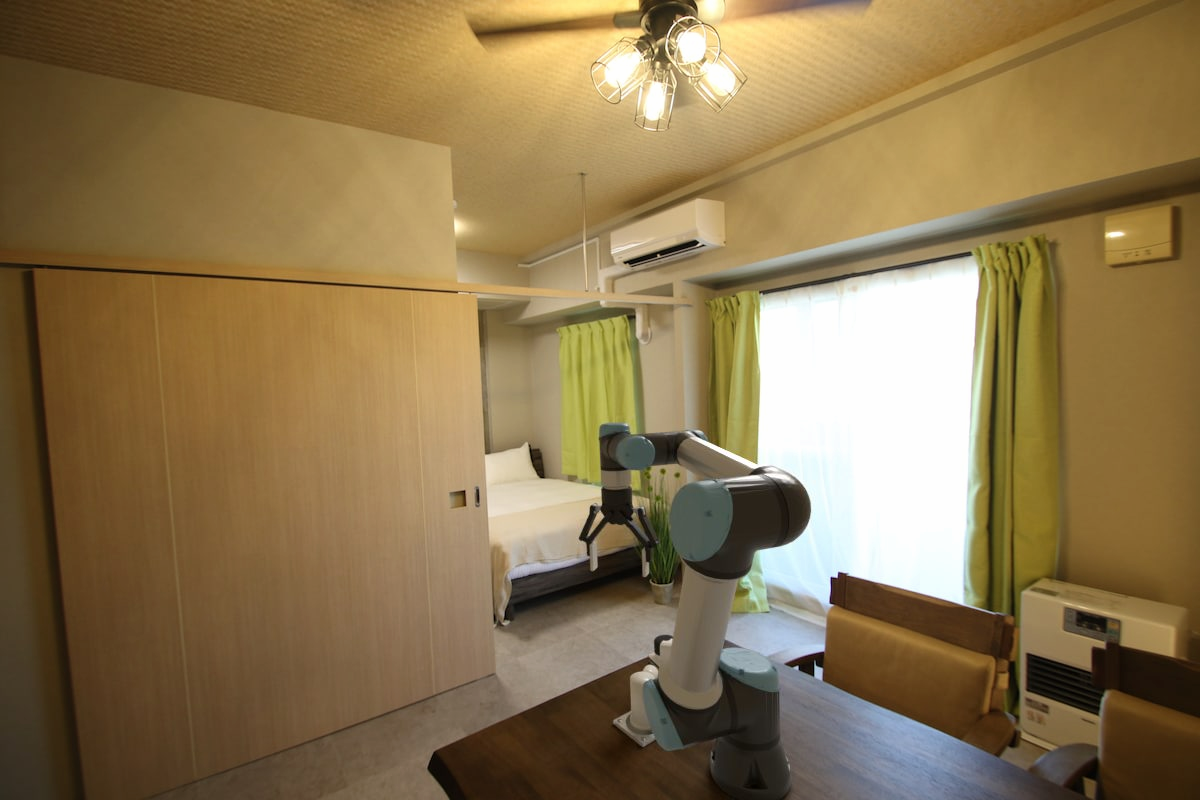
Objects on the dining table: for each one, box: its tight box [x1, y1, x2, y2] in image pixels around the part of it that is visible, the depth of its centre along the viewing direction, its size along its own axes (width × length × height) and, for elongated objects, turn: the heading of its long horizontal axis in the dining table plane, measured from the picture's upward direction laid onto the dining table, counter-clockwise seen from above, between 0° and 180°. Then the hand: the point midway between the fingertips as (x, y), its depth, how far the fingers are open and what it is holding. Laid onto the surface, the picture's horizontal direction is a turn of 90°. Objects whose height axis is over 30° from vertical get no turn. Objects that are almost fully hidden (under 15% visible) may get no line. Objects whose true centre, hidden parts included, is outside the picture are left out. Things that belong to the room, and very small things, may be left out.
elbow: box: [629, 664, 658, 731], centre depth 119 cm, size 9×6×10 cm, turn 157°
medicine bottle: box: [647, 634, 673, 671], centre depth 133 cm, size 7×7×12 cm
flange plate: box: [612, 710, 657, 748], centre depth 118 cm, size 10×10×1 cm
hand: (619, 572), depth 129 cm, fingers open, 13 cm apart
